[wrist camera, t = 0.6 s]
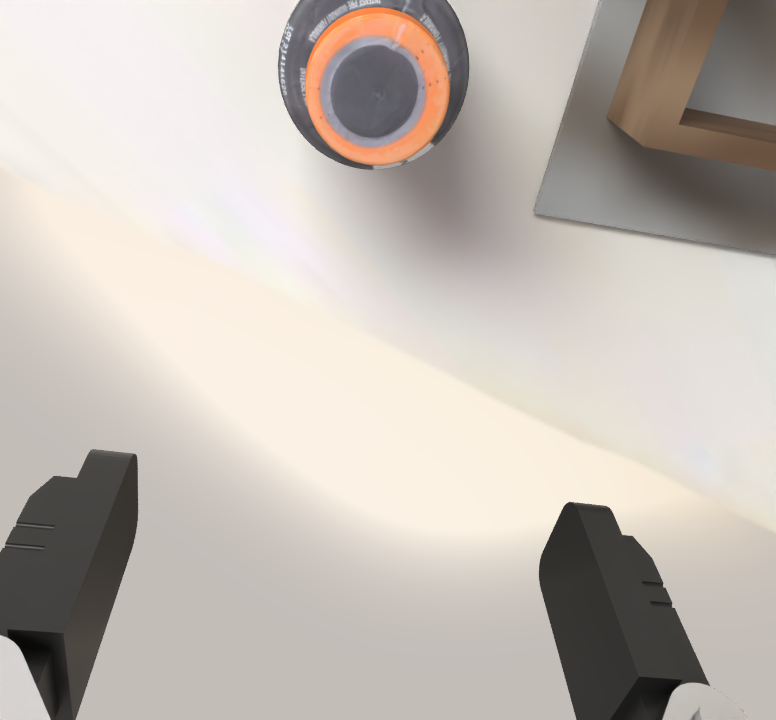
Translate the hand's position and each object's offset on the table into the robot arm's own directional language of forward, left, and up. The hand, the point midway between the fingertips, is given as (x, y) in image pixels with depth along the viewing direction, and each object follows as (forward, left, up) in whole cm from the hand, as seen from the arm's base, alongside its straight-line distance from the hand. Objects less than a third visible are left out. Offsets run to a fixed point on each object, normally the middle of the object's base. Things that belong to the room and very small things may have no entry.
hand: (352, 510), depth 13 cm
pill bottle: (-5, 0, -22) cm, 22 cm away
